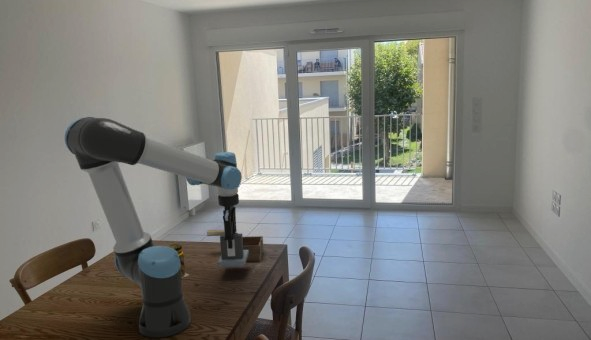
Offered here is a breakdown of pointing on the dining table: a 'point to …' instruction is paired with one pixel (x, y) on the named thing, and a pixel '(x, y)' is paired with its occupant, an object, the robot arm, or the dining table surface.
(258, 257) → the open wooden box
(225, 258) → the grey slotted stand
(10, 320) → the dining table surface
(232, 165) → the robot arm
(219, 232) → the key
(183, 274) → the condiment
